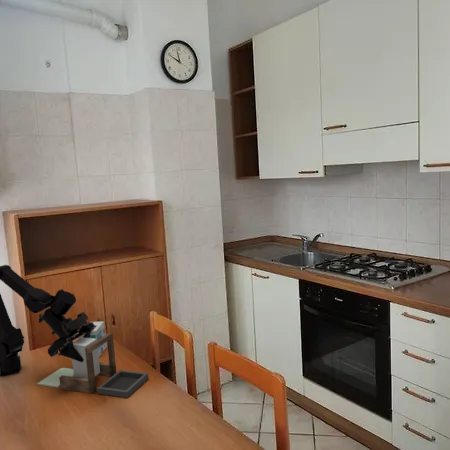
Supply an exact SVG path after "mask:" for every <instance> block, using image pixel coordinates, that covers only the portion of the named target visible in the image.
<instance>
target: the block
mask: <svg viewBox="0 0 450 450" xmlns="http://www.w3.org/2000/svg"><path fill="white" fill-rule="evenodd" d="M96 341H97V339H94V338H84V337H82V338H80V339H76V340H74V341H73V345H74V348H75V349H76V350H77V351H78V353H79V354H80V355H81V356H82V358H83V359H84V361H83V362H79V361H77V360H74V359H72V358H71V361H72V369H73V372H74V377H79V378H87V379H88V372H87V363H86V354H85V348H86V347H88V346H89V345H91V344H93V343H94V342H96ZM92 354H93V363H94V372H95V377H96V376H99V375H98V374H99V373H100V365H99V362H100V360H99V359H100V357H99V355H98V348H97V349H95V350H94V351H92Z"/></svg>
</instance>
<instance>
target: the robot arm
mask: <svg viewBox="0 0 450 450" xmlns="http://www.w3.org/2000/svg"><path fill="white" fill-rule="evenodd" d="M0 282H2V283H4V284H5V285H6V286H7V287H9V288H10V289H11V290H12V291H14V292H15V293H16V294H17V295H18V296H20V298H22V300H23V304H24V305H25V306H26V308H27V309H28V310H29V311H30V312H31V313H32V314H38V313H40V314H38V323H39V324H40V323H43V322H45V323H46V325H48V327H49V328H50V329H51V330H52V331H51V335H52V336H54V335H56V336H57V337H58V339H55V340H54V341H53V342H52V343H51V345H50V346H49V347H48V348H47V354H48V355H49V356H50V357H51V358H53V357H55V356H63V357H66V358H70V359H71V360H72V359H74V360H77V361H79V362H83V361H84V359H83V358H82V356H81V355H80V354H79V353H78V351H77V350H76V349H75V348H74V345H73V342H75V341H76V340H79V339H80V338H82V337H84V338H90V335H91V332H92V330H93V329H94V328H95V325H94V324H93V323H92V322H93V321H89V322H88V320H89V316H88V315H87V314H86V313H85V312H84V311H82V312H80V313H78V314H77V315H76V318H74V319H73V318H71V317H68V318H67V316H65V315H67V314H68V313H69V311H70V310H71V309H72V308H73V306H74V305H75V304H76V302H77V299H76V295H75V294H73V293H71V292H69V291H65V290H64V289H63V288H61V289H60V290H58V291H57V292H56V293H55V295H52V294H51V293H49V292H47V291H45V290H44V289H43V288H39V287H34V286H33V285H32V284H30V283H29V282H28V281H27V280H25V279H24V278H23V277H22V276H21V275H19V274H18V273H17V272H15V271H14V270H13V269H12V267H11V266H10V265H9V264H3V265H0ZM1 294H2V293H0V377H5V376H9V375H14V374H19V373H20V372H21V370H22V366H23V365H22V359H21V355H19V352H22V351H23V347H24V344H25V336H24V335H23V332H22V329H21V328H20V327H18V328H17V327H15V326H14V325H13V324H12V321H11V317H10V316H9V313H8V311H7V308H6V305H5V302H4V300H3V297H2V295H1ZM43 311H44V312H43ZM41 312H43V313H41Z"/></svg>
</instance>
